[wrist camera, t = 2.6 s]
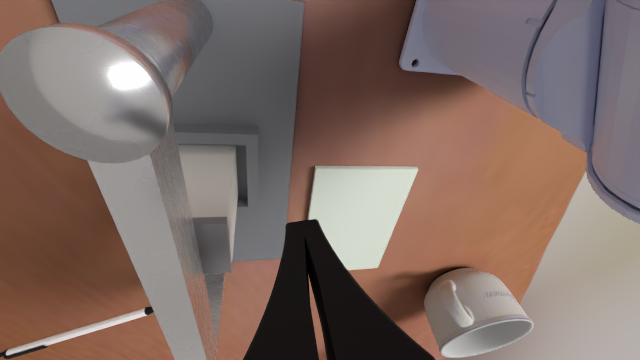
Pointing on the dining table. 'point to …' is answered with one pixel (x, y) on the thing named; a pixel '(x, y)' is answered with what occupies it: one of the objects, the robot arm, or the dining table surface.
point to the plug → (212, 201)
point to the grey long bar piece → (122, 162)
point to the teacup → (473, 313)
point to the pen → (74, 333)
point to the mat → (359, 209)
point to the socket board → (223, 90)
